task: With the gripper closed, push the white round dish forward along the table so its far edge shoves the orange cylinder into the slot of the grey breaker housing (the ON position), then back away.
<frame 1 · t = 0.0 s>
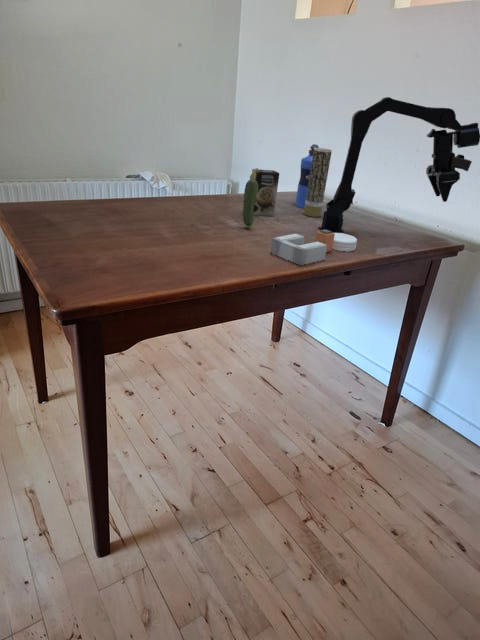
hand: (441, 198, 153), 15 cm above the table, tool pointing down, fingers open, 9 cm apart
orange cylinder: (324, 240, 139), point 3 cm above the table, slide at 0.0 cm
white round dish: (339, 248, 146), on the table
housing: (297, 256, 133), on the table
vegetable: (247, 228, 156), on the table
coffee box: (260, 214, 176), on the table
water bottle: (305, 206, 195), on the table
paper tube: (311, 215, 181), on the table
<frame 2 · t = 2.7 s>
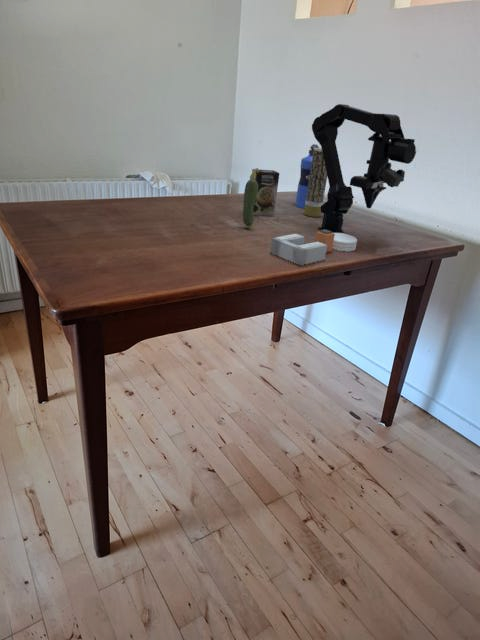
hand: (368, 208, 148), 11 cm above the table, tool pointing down, fingers closed
nothing on the table moved.
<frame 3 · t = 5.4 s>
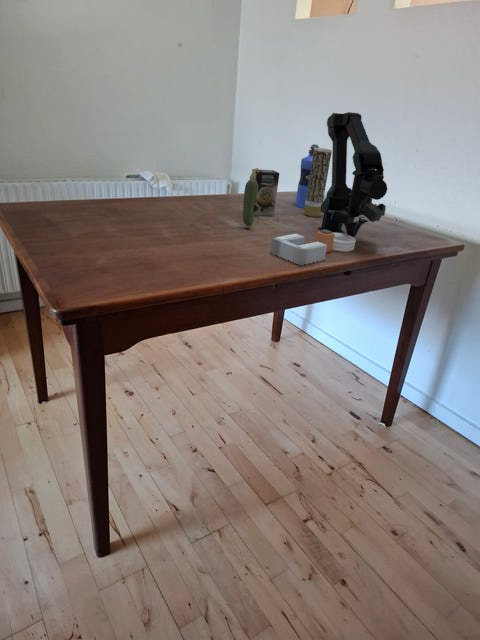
hand: (350, 240, 149), 1 cm above the table, tool pointing down, fingers closed
white round dish: (338, 247, 145), on the table, touching gripper
everything else where it was.
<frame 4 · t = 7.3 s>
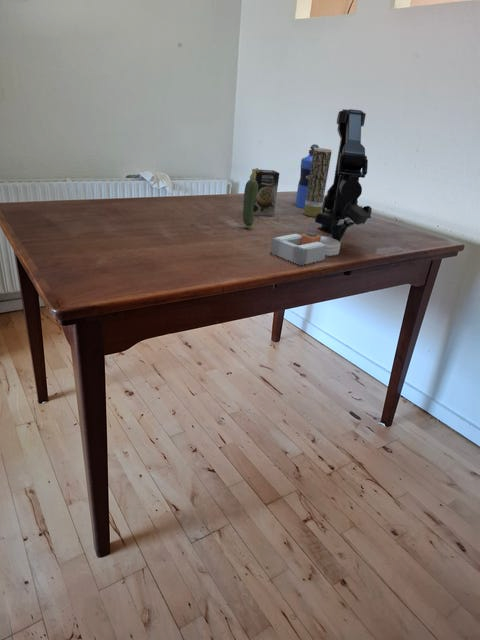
hand: (336, 243, 144), 1 cm above the table, tool pointing down, fingers closed
orange cylinder: (310, 243, 135), point 3 cm above the table, slide at 6.7 cm
white round dish: (322, 251, 141), on the table
everything else where it was.
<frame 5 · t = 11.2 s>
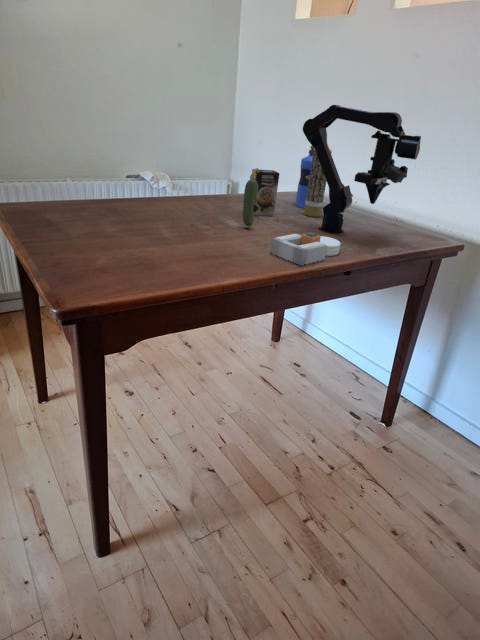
hand: (372, 203, 152), 12 cm above the table, tool pointing down, fingers closed
nothing on the table moved.
at the end: orange cylinder slide at 6.8 cm; white round dish moved 8.8 cm from its start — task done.
